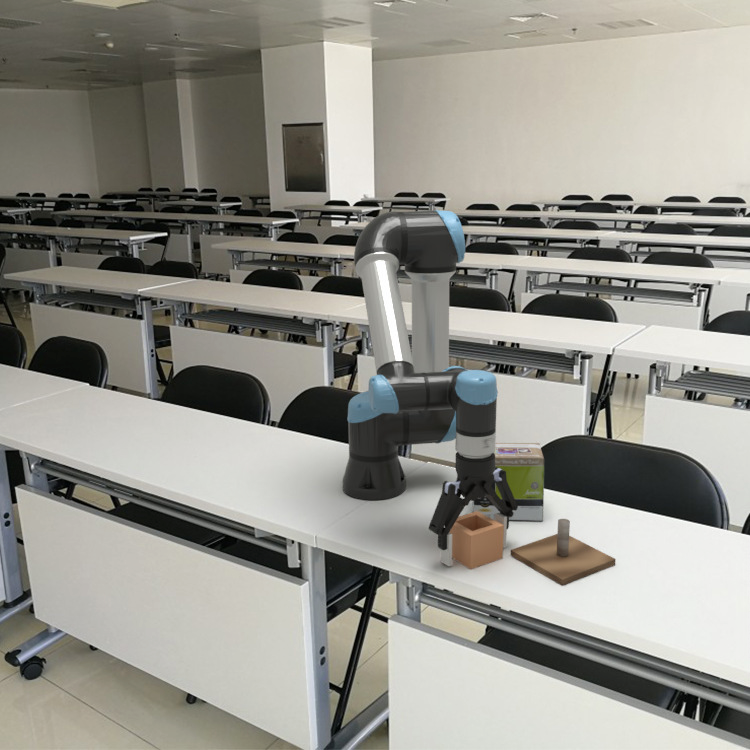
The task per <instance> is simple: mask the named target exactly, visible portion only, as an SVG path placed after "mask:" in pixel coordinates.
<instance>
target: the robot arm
mask: <svg viewBox="0 0 750 750" xmlns="http://www.w3.org/2000/svg"><path fill="white" fill-rule="evenodd" d="M465 254H466V240H465V234H464V229H463V226H462V223H461V221H460V219H459V217H458V215H457V214H456V213H455V212H453V211H451V210H440V209H438V210H437V209H433V210H432V209H431V210H430V209H429V210H428V209H427V210H413V211H386V212H384V213H381V214H379V215H377V216H375V217H374V218H373V219H371V221H370V222H368V224H366V225H365V227H364V228H363V229H362V231H361V233H360V234H359V236H358V238H357V242H356V245H355V247H354V254H353V255H354V257H353V262H354V263H353V264H354V269H355V270H354V271H355V273H356V274H357V276H358V277H359V278H360V279H361V282H362V283H361V284H362V291H363V294H364V295H363V296H364V301H365V302H364V303H365V309H366V314H367V315H366V316H367V321H368V327H369V333H370V339H371V346H372V352H373V359H374V365H375V371H376V372H375V373H376V375H372V376H370V377H369V380H368V390H367V391H362V392H360V393H357V394H356V395H354V396H353V397H352V398H351V399H350V400H349V401H348V406H347V407H348V408H347V419H346V420H347V422H348V423H347V424H348V460H347V463H346V467H345V471H344V474H343V477H342V490H343V492H344V493H345V494H346V495H347V496H350V497H352V498H355V499H360V500H368V501H369V500H370V501H373V500H374V501H376V500H378V501H379V500H386V499H391V498H394V497H398V496H399V495H401V494H403V493H404V492H405V491H406V489H407V488H406V487H407V485H406V484H407V482H406V480H407V479H406V475H405V472H404V470H403V467H402V464H401V461H400V458H399V446H409V445H423V444H440V443H447V442H451V441H455V445H454V446H455V451H456V453H455V464H454V465H455V472H456V476H457V477H456V480H455V481H451V482H450V481H448V480H445V481H443V482H442V489H441V494H440V497H439V500H438V501H437V505H436V507H435V509H434V512H433V515H432V517H431V520H430V523H429V525H428V530H429V531H431V532H432V533H434V534H435V535H437V547H438V548H439V549H440V550H439V553H440V555H439V556H440V558H439V559H440V562H441V563H443V564H445V565H446V566H447V567H451V566H453V558H452V534H451V533H449V532H450V530H451V528H452V527H453V525H454V523H455V522H456V520H457V518H458V517H459V516H461V513H462V512H463V510H464V508H465V507H466V506H468V505H469V504H470V502H473V501H474V500H476V499H478V498H484V496H486V497H487V498H488V499H489V500H490V501H491V503H492V504H493V505H494V506H495V507H496V508H497V510H498V511H499V512H500V513H498V512H497V513H495V521H497V522H498V523H500V524H502V525H504V530H503V549H504V548H506V547H507V534H508V533H507V531H508V530H509V528H510V524H509V523H510V520H509V517H512V516H513V512H512V511H513V510H514V511H515V510H517V508H518V506H517V503H516V501H515V499H514V496H513V494H512V492H511V489H510V487H509V485H508V482H507V478H506V471H504V470H502V469H500V468H497V467H495V454H494V453H493V452H495V443H497V442H496V437H497V436H496V435H497V429H496V428H497V427H496V426H497V400H498V399H497V398H498V393H499V392H498V387H497V386H498V385H497V383H498V382H497V377H496V374H495V373H494V374H493V373H492V372H490V371H487V370H480V369H470V370H468V369H466V367H465V368H464V367H463V366H460V365H452V366H450V365H449V364H450V362H449V361H450V279H451V278H452V277H453V276H454V274H456V273H457V264H460V263H462V262H463V261H464V260H465ZM401 265H404V273H405V274H406V275H407V276H408V277H409V278H410V280H411V346H410V341H409V340H410V338H409V335H408V334H409V333H408V330H407V324H406V318H405V313H404V307H403V302H402V295H401V293H400V292H401V291H400V286H399V285H400V284H399V280H398V275H397V272H398V271H399V269H400V266H401ZM494 480H495V483H496V485H497V488H498V490H499V492H500V494H501V497H502V499H503V501H504V502H503V501H502V500H501V499H500V498H499V497H498V495H497V494H496V492H495V491H494V489H493V488H492V487H491V484H492V483H493V481H494ZM461 496H462V497H461ZM504 503H505V504H504Z"/></svg>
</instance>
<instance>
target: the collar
mask: <svg viewBox="0 0 750 750" xmlns="http://www.w3.org/2000/svg"><path fill="white" fill-rule="evenodd" d="M503 530H504V525H502V524H500V523H498V522H497V521H495V520H493V519H491V518H489V517H487V516H486V515H484V514H482V513H480V512H478V511H475V512H474V511H473V512H470V513H466V514H461V515H459V517H458V518H457V520H456V522H455V523H454V525H453V527H452V528H451V530H450V532H449V533H451V534H452V559H454V560H455V561H457V562H458V563H460V564H462V565H463V566H465V567H466V568H468V569H470V570H474V569H476V568H478V567H479V568H480V567H481V566H484V565H488V564H490V563H493V562H496V561H498V560H502V559H503V558H504V548H503Z"/></svg>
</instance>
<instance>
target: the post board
mask: <svg viewBox="0 0 750 750" xmlns="http://www.w3.org/2000/svg"><path fill="white" fill-rule="evenodd" d="M570 525H571V520H570V519H567V518H560V519H557V533H556V534H553V535H550V536H547V537H544V538H542V539H538V540H536V541H533V542H530V543H527V544H524V545H521V546H518V547H514V548H511V549H510V557H512V558H514V559H515V560H518V561H519V562H521V563H523V564H524V565H526V566H528V567H529V568H531V569H533V570H535V571H537V572H538V573H540V574H541V575H543V576H545V577H547V578H548V579H550V580H552V581H553V582H555V583H557V584H559V585H561V586H565V585H567V584H569V583H573V582H575V581H577V580H580V579H582V578H583V579H584V577H587V576H591V575H592V574H595V573H598V572H600V571H603V570H606V569H608V568H610V567H612V566H616V558H614V557H613V556H611V555H609V554H606V553H604V552H602V551H601V550H599V549H596V548H595V547H593V546H591V545H589V544H587V543H585V542H583V541H581V540H579V539H578V538H575V537H573V536H571V535H570Z"/></svg>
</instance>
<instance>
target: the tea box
mask: <svg viewBox="0 0 750 750" xmlns="http://www.w3.org/2000/svg"><path fill="white" fill-rule="evenodd" d="M540 444H541V443H540V442H495V452H493V453H494V454H495V467H497V468H500V469H502V470H504V471H506V478H507V482H508V485H509V487H510V489H511V492H512V494H513V496H514V499H515V501H516V503H517V506H518V508H517V510H515V511H514V510H513V511H512V512H513V516H512V517H509V521H540V522H541V521H543V520H544V497H545V496H544V495H545V493H544V492H545V458H544V454H543V451H542V448H541V445H540ZM491 487H492V488H493V489H494V491H495V492H496V494H497V495H498V497H499V498H500V499H501V500H502V501H503V499H502V497H501V494H500V492H499V490H498V488H497V485H496V483H495V480H494V481H493V483H492V484H491ZM503 502H504V501H503ZM472 503H473V512H475V511H478V512H480V513H482V514H484V515H486V516H487V517H489V518H491V519H493V520H495V513H497V512H498V513H500V512H499V511H498V510H497V508H496V507H495V506H494V505H493V504H492V503H491V501H490V500H489V499H488V498H487V497H486V496H484V498H478V499H476V500H474V501H472ZM504 504H505V503H504Z"/></svg>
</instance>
